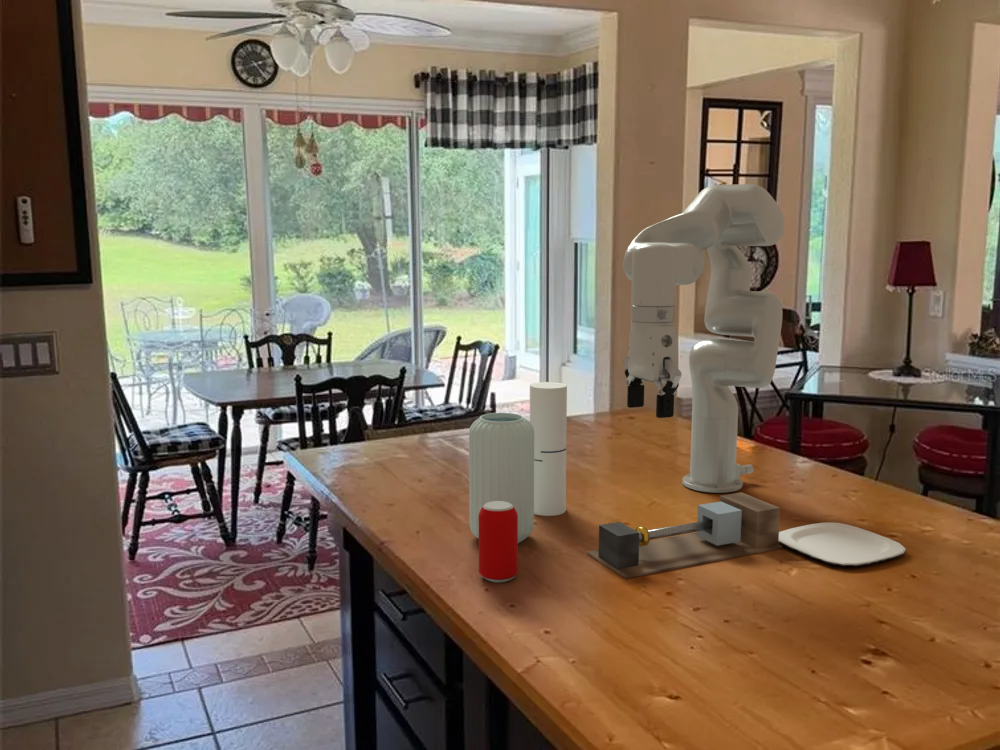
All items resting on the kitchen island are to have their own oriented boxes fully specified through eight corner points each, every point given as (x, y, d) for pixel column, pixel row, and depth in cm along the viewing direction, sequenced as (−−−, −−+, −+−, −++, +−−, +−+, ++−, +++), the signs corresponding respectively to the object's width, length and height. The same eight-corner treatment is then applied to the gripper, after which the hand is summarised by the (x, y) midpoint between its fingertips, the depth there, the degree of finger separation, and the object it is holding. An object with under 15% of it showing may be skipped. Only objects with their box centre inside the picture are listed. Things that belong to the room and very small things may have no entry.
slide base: (736, 527, 166) (738, 490, 164) (782, 548, 155) (784, 509, 154) (586, 553, 152) (587, 514, 151) (625, 578, 142) (625, 536, 141)
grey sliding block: (719, 531, 160) (720, 501, 159) (740, 541, 155) (741, 510, 154) (696, 535, 158) (698, 505, 157) (717, 545, 153) (718, 514, 152)
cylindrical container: (563, 516, 172) (564, 389, 168) (526, 514, 173) (526, 387, 169) (567, 505, 179) (569, 382, 175) (532, 503, 180) (533, 381, 176)
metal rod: (733, 525, 159) (734, 508, 159) (745, 531, 157) (746, 513, 156) (608, 547, 149) (608, 529, 148) (618, 553, 146) (618, 534, 145)
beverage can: (504, 588, 138) (504, 513, 136) (471, 579, 141) (470, 507, 139) (524, 575, 143) (524, 503, 141) (492, 567, 147) (491, 497, 145)
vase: (541, 531, 164) (542, 413, 160) (522, 553, 153) (523, 426, 149) (482, 525, 167) (482, 408, 164) (460, 545, 157) (459, 421, 153)
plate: (843, 577, 143) (843, 567, 143) (761, 542, 159) (762, 533, 159) (919, 558, 151) (919, 548, 151) (834, 526, 167) (835, 518, 167)
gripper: (699, 319, 149) (695, 419, 152) (645, 311, 165) (642, 402, 168) (660, 321, 147) (657, 423, 149) (609, 312, 162) (607, 404, 165)
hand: (649, 411), depth 159 cm, fingers open, 9 cm apart
